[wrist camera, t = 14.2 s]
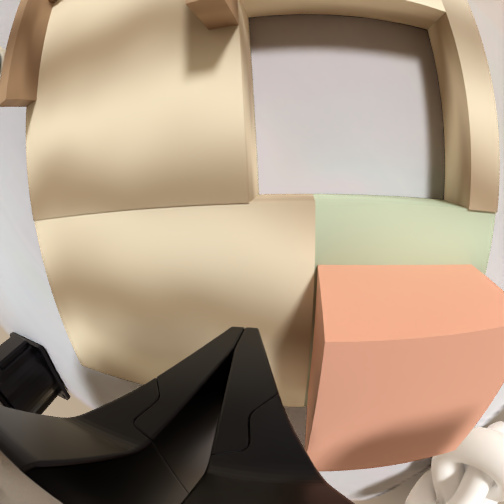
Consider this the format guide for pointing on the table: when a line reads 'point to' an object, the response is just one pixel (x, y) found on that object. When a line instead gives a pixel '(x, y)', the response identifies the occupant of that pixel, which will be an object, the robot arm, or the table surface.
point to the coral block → (400, 362)
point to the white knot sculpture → (466, 471)
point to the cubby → (33, 35)
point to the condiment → (2, 57)
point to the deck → (222, 184)
